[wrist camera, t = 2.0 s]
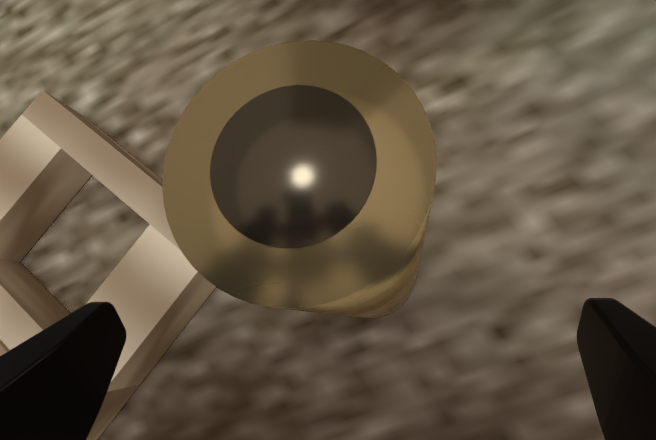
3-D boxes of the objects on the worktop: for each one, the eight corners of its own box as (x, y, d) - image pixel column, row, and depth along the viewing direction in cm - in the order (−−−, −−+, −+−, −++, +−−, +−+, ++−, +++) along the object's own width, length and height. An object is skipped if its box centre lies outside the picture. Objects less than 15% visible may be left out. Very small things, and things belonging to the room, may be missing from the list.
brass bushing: (378, 338, 18) (312, 374, 6) (304, 279, 19) (107, 196, 7) (436, 260, 18) (499, 124, 6) (359, 206, 19) (272, -6, 7)
